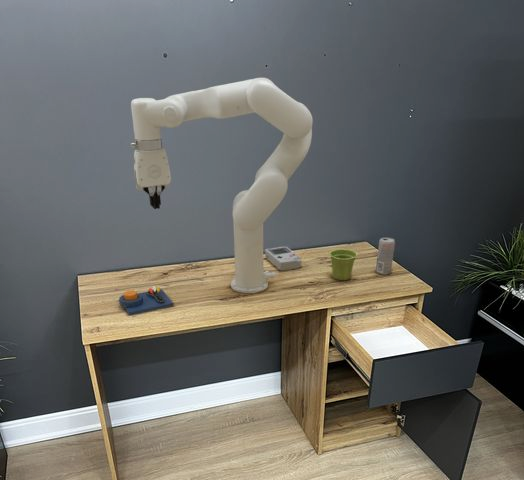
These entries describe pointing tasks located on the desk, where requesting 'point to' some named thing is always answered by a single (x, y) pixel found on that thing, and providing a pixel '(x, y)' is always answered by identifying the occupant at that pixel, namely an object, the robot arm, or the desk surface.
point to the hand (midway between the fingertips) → (155, 207)
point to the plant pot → (342, 263)
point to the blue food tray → (145, 303)
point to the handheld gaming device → (283, 258)
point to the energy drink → (385, 256)
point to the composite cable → (155, 294)
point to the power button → (130, 295)
